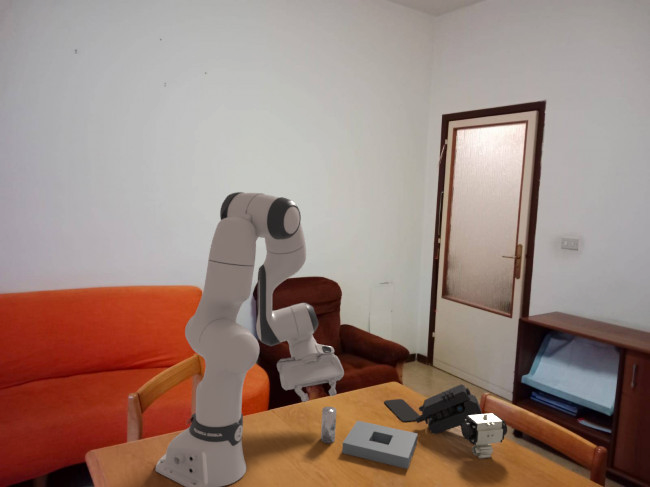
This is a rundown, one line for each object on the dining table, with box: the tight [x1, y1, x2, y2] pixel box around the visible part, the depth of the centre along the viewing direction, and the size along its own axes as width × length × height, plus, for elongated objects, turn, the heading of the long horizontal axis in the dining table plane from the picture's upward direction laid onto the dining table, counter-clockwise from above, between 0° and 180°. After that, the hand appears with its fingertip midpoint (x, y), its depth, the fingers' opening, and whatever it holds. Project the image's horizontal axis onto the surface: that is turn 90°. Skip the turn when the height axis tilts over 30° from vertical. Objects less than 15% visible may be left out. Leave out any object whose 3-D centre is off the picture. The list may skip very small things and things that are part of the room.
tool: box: [415, 383, 483, 435], centre depth 144 cm, size 6×19×15 cm, turn 78°
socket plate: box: [341, 420, 418, 470], centre depth 134 cm, size 18×14×3 cm
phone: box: [383, 398, 421, 423], centre depth 158 cm, size 7×1×15 cm
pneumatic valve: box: [460, 412, 508, 460], centre depth 131 cm, size 6×12×12 cm, turn 105°
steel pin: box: [320, 406, 337, 444], centre depth 137 cm, size 4×4×9 cm
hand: (319, 397), depth 141 cm, fingers open, 8 cm apart
